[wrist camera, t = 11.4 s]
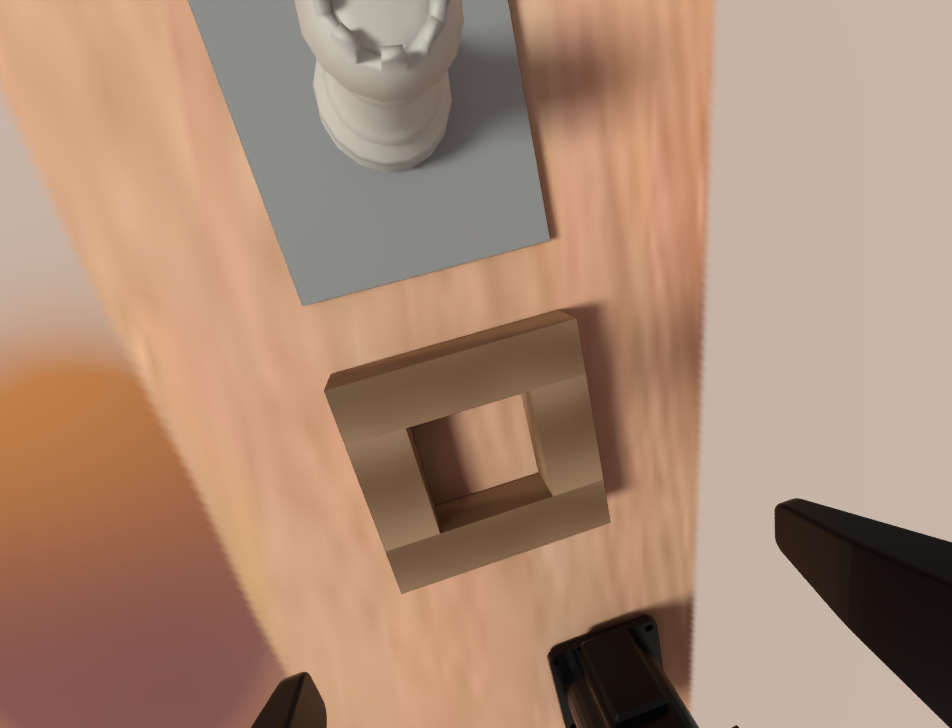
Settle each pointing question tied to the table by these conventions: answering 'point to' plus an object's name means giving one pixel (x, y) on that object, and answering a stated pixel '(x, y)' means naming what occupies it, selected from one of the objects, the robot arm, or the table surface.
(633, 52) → the table surface
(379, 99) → the rook chess piece
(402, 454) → the socket block
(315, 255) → the slate mat
